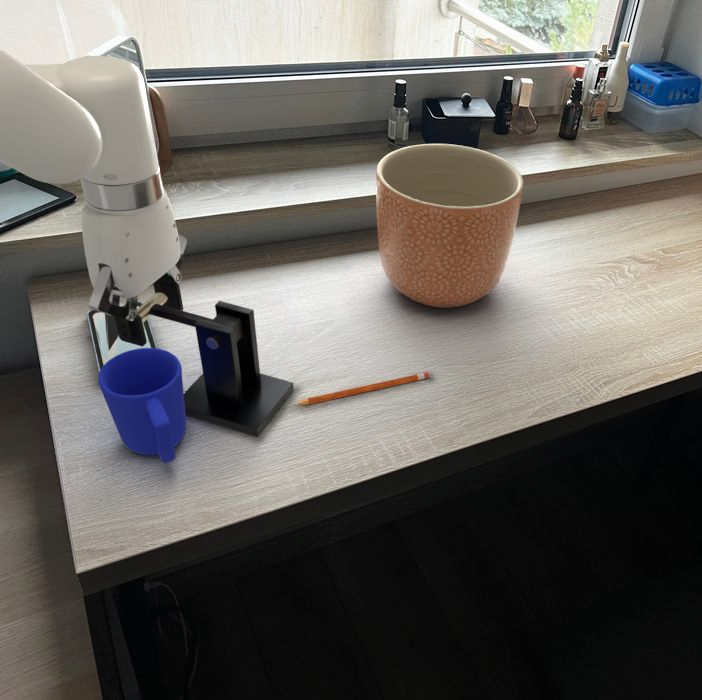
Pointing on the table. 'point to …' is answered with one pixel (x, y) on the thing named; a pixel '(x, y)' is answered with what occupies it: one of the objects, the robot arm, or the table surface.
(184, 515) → the table surface
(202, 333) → the bracket
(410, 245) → the planter
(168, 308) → the lever
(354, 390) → the pencil
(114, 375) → the mug
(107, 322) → the smartphone
